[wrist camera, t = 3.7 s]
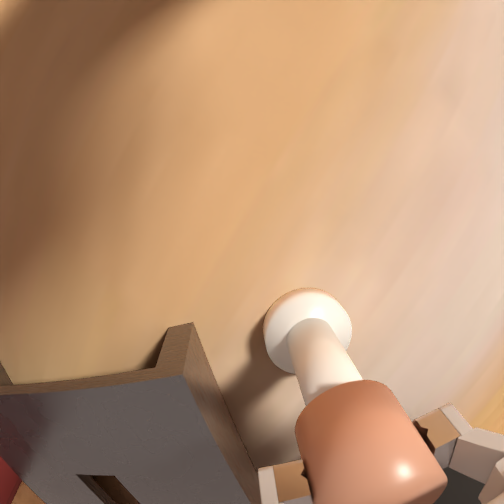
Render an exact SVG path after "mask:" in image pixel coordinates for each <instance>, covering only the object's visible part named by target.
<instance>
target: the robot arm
mask: <svg viewBox="0 0 504 504" xmlns="http://www.w3.org/2000/svg"><path fill="white" fill-rule="evenodd" d="M412 423H413V425H414V426H415V428H416V429H417V431H418V432H419V434H420V435H421V437H422V438H423V440H424V442H425V443H426V445H427V446H428V448H429V449H430V451H431V452H432V454H433V456H434V457H435V459H436V460H437V462H438V463H439V465H440V467H441V468H442V469H444V468H446V467H448V466H449V468H451V469H453V470H456V471H458V472H460V473H462V474H464V475H466V476H468V477H470V478H473V479H475V480H477V481H479V482H482V483H484V484H485V485H484V487H483V489H482V491H481V492H480V494H479V497H478V499H479V500H480V502H481V503H482V504H504V435H502V434H498V433H495V432H491V431H488V430H484V429H481V428H477V427H476V428H474V429H473V428H472V427H471V426H470V425H469V423H468V422H467V421H466V420H465V419H464V417H463V416H462V415H461V414H460V413H459V412H458V410H457V409H456V408H455V407H454V406H453V404H451V403H448V404H446V405H444V406H442V407H440V408H438V409H435V410H433V411H431V412H429V413H427V414H425V415H423V416H421V417H419V418H416V419H414V420H413V422H412ZM258 479H259V488H260V497H261V504H313V500H312V496H311V492H310V488H309V484H308V481H307V476H306V472H305V468H304V464H303V461H302V459H300V460H296V461H291V462H287V463H282V464H277V465H272V466H267V467H262V468H258Z"/></svg>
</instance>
